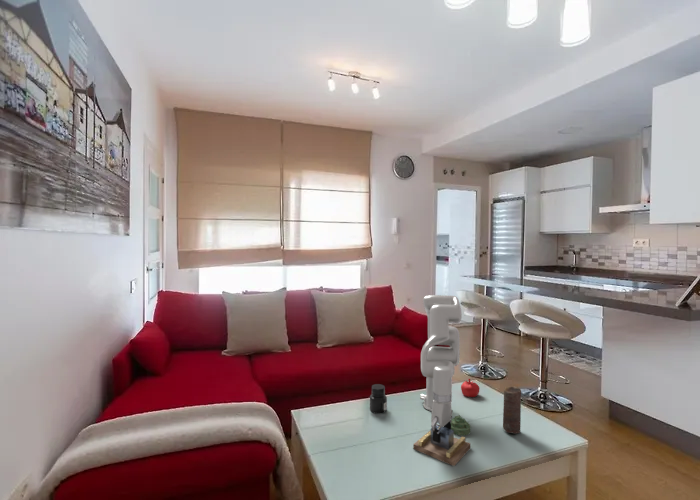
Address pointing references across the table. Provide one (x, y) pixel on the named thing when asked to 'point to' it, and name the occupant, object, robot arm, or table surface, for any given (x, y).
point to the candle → (512, 409)
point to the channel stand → (443, 449)
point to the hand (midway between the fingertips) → (442, 436)
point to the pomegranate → (470, 389)
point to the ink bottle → (378, 399)
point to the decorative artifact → (460, 426)
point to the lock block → (444, 438)
